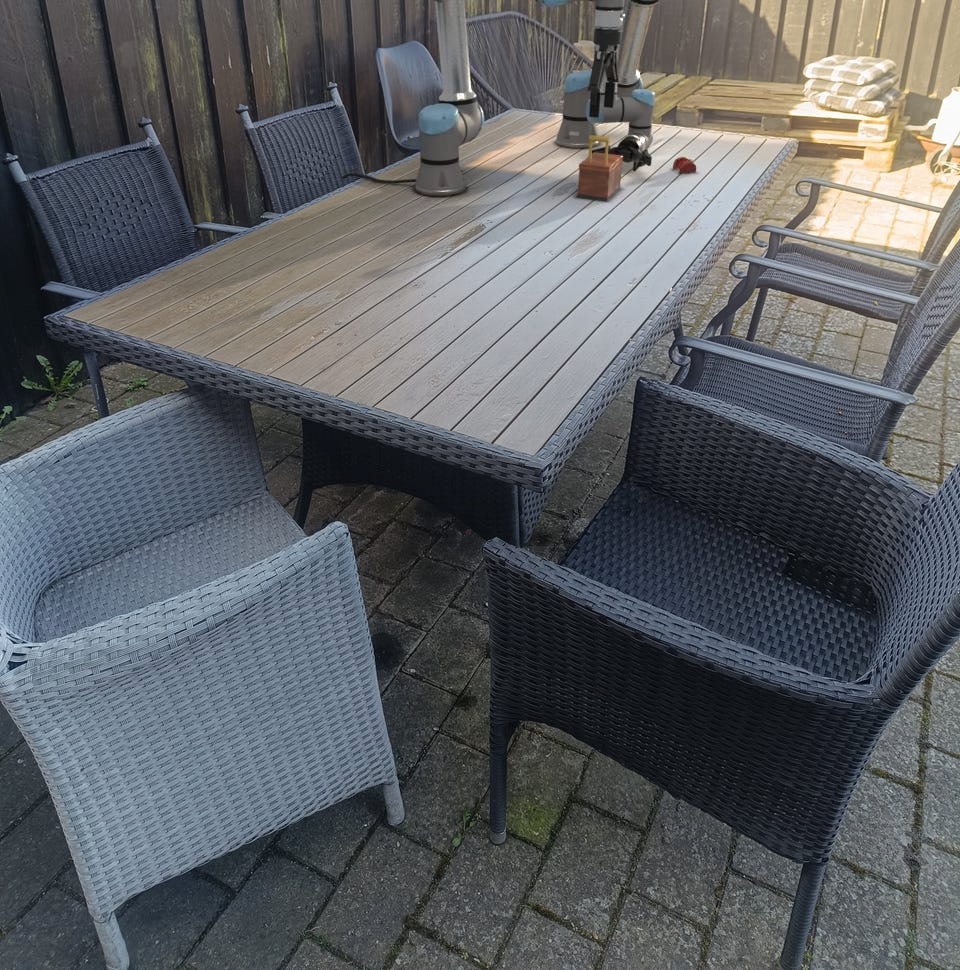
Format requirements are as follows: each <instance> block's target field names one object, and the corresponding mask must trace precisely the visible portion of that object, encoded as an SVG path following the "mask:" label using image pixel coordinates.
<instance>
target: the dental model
mask: <svg viewBox="0 0 960 970" xmlns="http://www.w3.org/2000/svg"><path fill="white" fill-rule="evenodd" d="M672 170H678V173H679V174H690V173H691V174H692V173H696V172H697V165H696V163H695V161H694V160H693V159H691V158H688V157H686V156H679V157H677V158H676V159H674V161H673V164H672Z"/></svg>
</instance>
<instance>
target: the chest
mask: <svg viewBox="0 0 960 970" xmlns="http://www.w3.org/2000/svg"><path fill="white" fill-rule="evenodd" d="M623 163H624V161H623V160H621V161H620V162H619V163H618V164H617V165H616V166H615V167H613V168H612V169H611V170H610V171H601V170H592V169H584V168H579V167H578V183H577V198H578V199H586V200H593V201H600V202H608V201H609V200H610V199H611V198H612V197H613V196H614V195H615V194H617V192H619V190H621V183H622V171H623Z"/></svg>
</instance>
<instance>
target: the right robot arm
mask: <svg viewBox="0 0 960 970" xmlns="http://www.w3.org/2000/svg"><path fill="white" fill-rule="evenodd" d="M660 1H661V0H626V5H625V9H624V12H623V14H625V18H623V22H622V26H621V27H620V28H621V30H622V36H621V43H620V44H619V45H618V50H617V56H618V78H619V82H614V83H615V95H614V107H613V108H608V107H604V97H605V85H606V82H607V78H606V72H605V74H604V78H603V81H602V85H601V89H600V92H601V101H600V114H599V118H596V117H589V111H590V97H591V92H590V91H588V87H589V83H590V77H591V72H592V69H589V70H587V69H586V70H579V71H574V72H572V73H570V74H568V75H567V76H566V77H565V78H564V86H563V103H562V120H561V123H560V126H559V129H558V132H557V135H556V140H555V143H556V144H557V145H558V146H561V147H564V148H571V149H589V143H590V141H589V136H590V135H593V136H599V132H598V127H597V124H601V125H604V124H614V123H628V131H627V135H626V136H625V137H624V138H623V139H622V140H621V141H620V142H618V145H616V146H614V147H611V145H609V146H608V154H613V155H622V156H623V163H632V172H636V171H637V170H638V169H639V168H640V167H644V166H648V167H651V166H652V161H653V157H652V155H651V154H650V153H649V152H648V151H649V150H648V149H649V148H650V147H651V145H652V143H653V140H654V134H653V131H652V130H653V117H654V112H655V111H654V110H655V101H656V100H655V99H656V98H655V97H656V96H655V95H656V94H655V91H653V90H651V89H648V88H643V79H642V76H641V75H640V72H639V69H638V67H639V63H640V59H641V55H642V52H643V48H644V44H645V41H646V36H647V32H648V30H649V25H650V21H651V17H652V14H653V10H654V7H655V5H657V4H659V2H660ZM591 2H592V4H593V5H594V8H595V7H596V1H591ZM595 28H596V26H595V25H594V29H595ZM593 45H594V50H593V52H594V53H595V51H599V45H596V44H594V43H593ZM599 143H600V142H595V141H592V148H593V147H596V146H598V145H599ZM605 147H606V145H605V146H602V147H598V148H594V149H592V154H593V153H594V152H595V153H604V154H605Z"/></svg>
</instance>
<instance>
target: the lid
mask: <svg viewBox="0 0 960 970" xmlns="http://www.w3.org/2000/svg"><path fill="white" fill-rule="evenodd" d="M589 141H590V143H589V148H588V156H587V157H586V158H585V159H583V160H582V161H581V162H580V163H578V169H579V168H584V169H592V170H601V171H610V170H611V169H612V168H613V167H615V166H616V165H617V164H618V163H619V162H620V161H621V160H623V156H622V155H613V154H608V146H610V145H609V144H610V141H611V137H610V136H603V135H598V136H593V135H590V136H589ZM592 141H595V142H599V143H605V146H606V147H605V146H604V147H605V154H604V153H595V152H594V153H593V154H592V150H593V147H592Z"/></svg>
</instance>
